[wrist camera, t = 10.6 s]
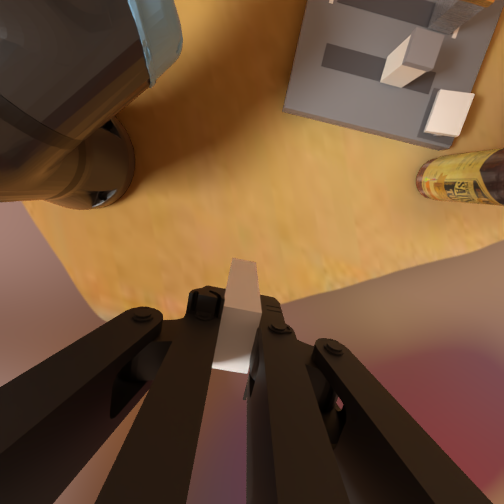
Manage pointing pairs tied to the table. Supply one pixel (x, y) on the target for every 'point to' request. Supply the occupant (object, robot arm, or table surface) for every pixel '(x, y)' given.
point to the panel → (380, 66)
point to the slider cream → (412, 57)
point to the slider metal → (455, 13)
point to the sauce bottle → (464, 178)
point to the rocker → (448, 113)
